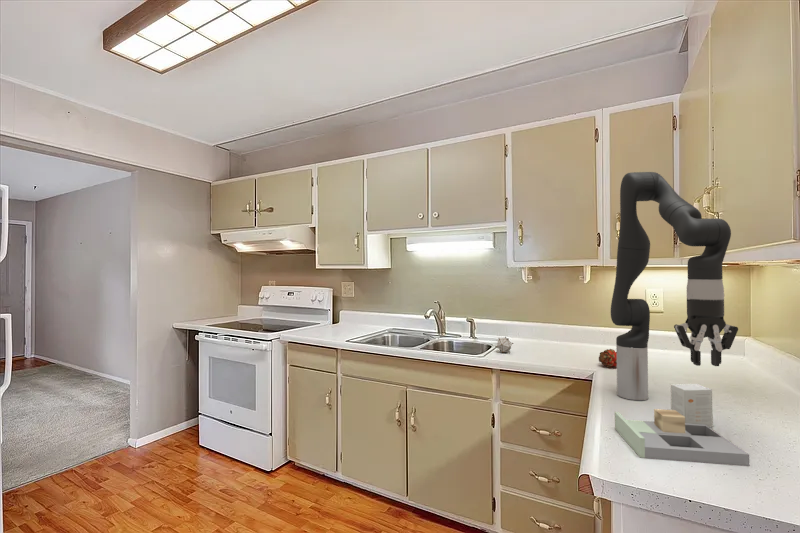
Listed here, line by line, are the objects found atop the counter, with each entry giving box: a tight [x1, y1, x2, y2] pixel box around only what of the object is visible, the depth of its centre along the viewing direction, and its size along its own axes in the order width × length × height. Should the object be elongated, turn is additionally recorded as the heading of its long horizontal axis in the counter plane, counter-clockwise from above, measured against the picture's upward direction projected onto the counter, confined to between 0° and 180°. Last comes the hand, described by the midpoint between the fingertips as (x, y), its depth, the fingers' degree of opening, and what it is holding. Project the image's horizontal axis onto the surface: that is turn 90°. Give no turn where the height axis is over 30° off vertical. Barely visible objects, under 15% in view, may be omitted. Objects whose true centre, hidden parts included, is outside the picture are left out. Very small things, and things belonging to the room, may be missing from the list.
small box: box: [670, 383, 714, 428], centre depth 111 cm, size 8×6×10 cm
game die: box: [494, 336, 514, 354], centre depth 206 cm, size 9×8×10 cm
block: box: [653, 408, 685, 433], centre depth 101 cm, size 5×5×4 cm
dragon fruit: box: [598, 348, 617, 369], centre depth 175 cm, size 8×8×12 cm
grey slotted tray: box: [614, 411, 750, 467], centre depth 98 cm, size 17×22×4 cm
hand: (705, 364), depth 100 cm, fingers open, 3 cm apart
